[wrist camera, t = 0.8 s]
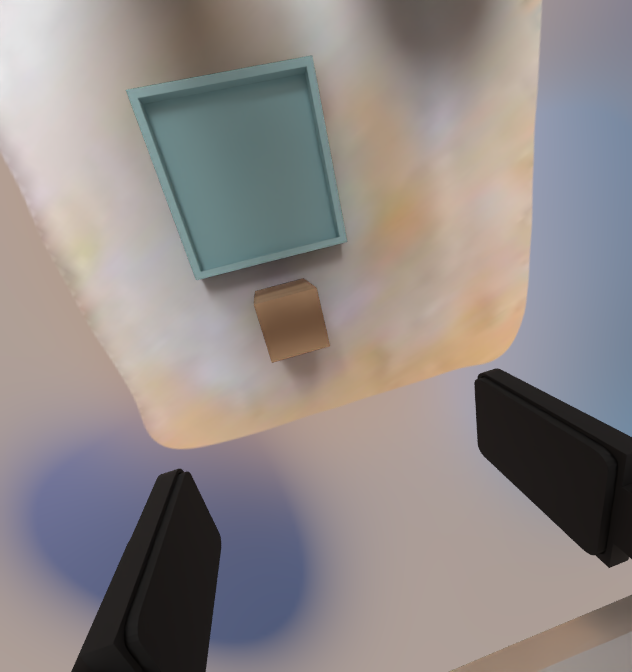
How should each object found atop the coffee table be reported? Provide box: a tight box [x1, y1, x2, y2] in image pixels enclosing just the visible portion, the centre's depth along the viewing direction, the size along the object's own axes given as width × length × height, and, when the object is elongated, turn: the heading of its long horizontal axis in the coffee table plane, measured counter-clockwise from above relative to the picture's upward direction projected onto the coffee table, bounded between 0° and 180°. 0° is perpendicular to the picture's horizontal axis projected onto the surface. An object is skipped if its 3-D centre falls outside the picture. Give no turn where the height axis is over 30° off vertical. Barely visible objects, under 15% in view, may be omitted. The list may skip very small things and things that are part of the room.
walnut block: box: [254, 278, 330, 363], centre depth 27 cm, size 5×5×7 cm
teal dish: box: [126, 55, 347, 280], centre depth 25 cm, size 14×14×2 cm
